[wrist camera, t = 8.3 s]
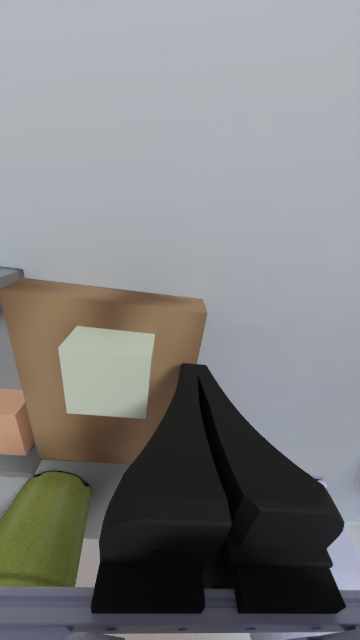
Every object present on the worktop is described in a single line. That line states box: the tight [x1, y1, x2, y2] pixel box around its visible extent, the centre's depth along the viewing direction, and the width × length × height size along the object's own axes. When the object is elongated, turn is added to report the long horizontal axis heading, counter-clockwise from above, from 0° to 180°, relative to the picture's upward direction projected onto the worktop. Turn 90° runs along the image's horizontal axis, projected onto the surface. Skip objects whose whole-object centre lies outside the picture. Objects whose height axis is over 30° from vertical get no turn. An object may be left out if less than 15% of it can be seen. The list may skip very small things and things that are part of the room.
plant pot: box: [0, 471, 91, 587], centre depth 17 cm, size 9×9×9 cm
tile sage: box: [58, 326, 155, 419], centre depth 11 cm, size 4×4×2 cm
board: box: [0, 278, 207, 464], centre depth 14 cm, size 10×13×2 cm
